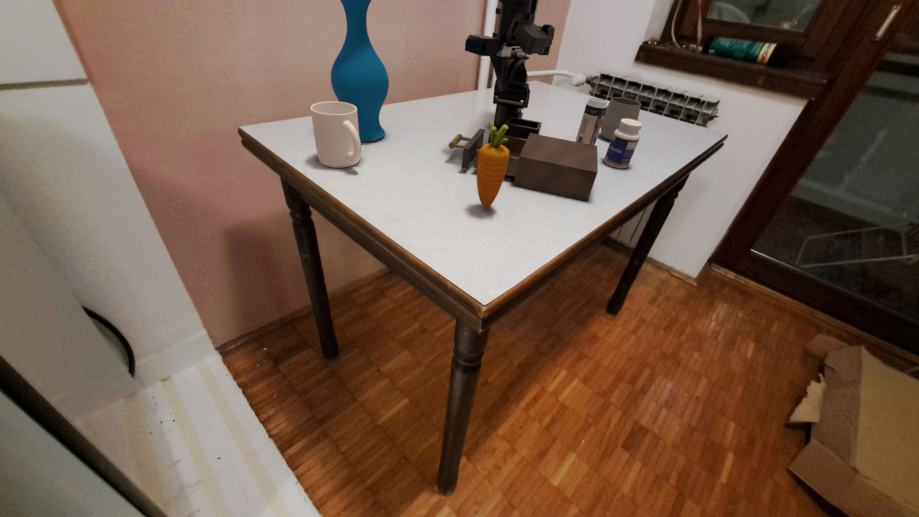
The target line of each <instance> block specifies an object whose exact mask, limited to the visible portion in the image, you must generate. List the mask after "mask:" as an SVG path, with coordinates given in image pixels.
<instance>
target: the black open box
mask: <svg viewBox="0 0 919 517" xmlns="http://www.w3.org/2000/svg"><path fill="white" fill-rule="evenodd" d="M542 123H543V121H536V120H530V119H525V118H522V119H521V118H515V117H509V118H508V119H507V121H506V122H505V125H507V126H508V129H507V131H506V132H505V134H504V135H507V136H512V137H517V138H522V139H527V138H528V136H529V134H530V133H533V134H538V135H540V133H541V128H542Z"/></svg>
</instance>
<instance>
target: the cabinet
mask: <svg viewBox="0 0 919 517" xmlns="http://www.w3.org/2000/svg"><path fill="white" fill-rule="evenodd" d="M598 164H599V163H598V145H596V144H595V145H590V144H585V143H579V142H575V141H574V140H569V139H564V138H559V137H553V136H549V135H548V136H547V135H543V134H539V135H538V134H533V133H530V134H529V136H528V138H527V141H526V143H525V145H524V147H523V149H522V151H521V154H520V156H519V160H518V165H517V170H516V175H515V177H514V180H513V186H516V187H521V188H526V189H531V190H534V191H540V192H543V193H548V194H554V195H557V196H563V197H567V198H572V199H574V200H576V199H577V200H580V201H585V202H588V201H589V197H590V196H591V192H592V189H593V186H594V183H595V181H596V178H597V175H598V173H599V170H598V169H599V167H598V166H599V165H598Z"/></svg>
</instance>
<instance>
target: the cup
mask: <svg viewBox="0 0 919 517" xmlns="http://www.w3.org/2000/svg"><path fill="white" fill-rule="evenodd" d="M641 106H642V103H641V102H640V101H638V100H635V99H632V98H628V97H619V96H614V97H611V99H610V101H609V102H608V104H607V109H606V112H605V115H604V118H603V121H602V124H601V127H600V132H601V136H602V138H603V139H606V140H608V141H610V142H611V139H612V136H613V133H614V131H615V130H616V129H618V128H619V123H620V121H621V119H633V120H636V121H639V116H640V112H641Z"/></svg>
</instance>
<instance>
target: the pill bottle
mask: <svg viewBox="0 0 919 517" xmlns="http://www.w3.org/2000/svg"><path fill="white" fill-rule="evenodd" d="M642 127H643V123H642V122H641V121H639V120H638V121H636V120H633V119H621V121H620V123H619V128H618V129H616V130H615V131H614V133H613V136H612V139H611V141H610V142H609V144H608V147H607V150H606V153H605V156H604V159H603V161H604V163H605V164H606V165H608V166H610V167H613V168H616V169H625V168H628V167H629V165H630V163H631V161H632V158H633V155H634V153H635V150H636V148H637V146H638V143H639V140H640V138H641V136H640V133H639V132H640V131H641V130H642Z"/></svg>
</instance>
